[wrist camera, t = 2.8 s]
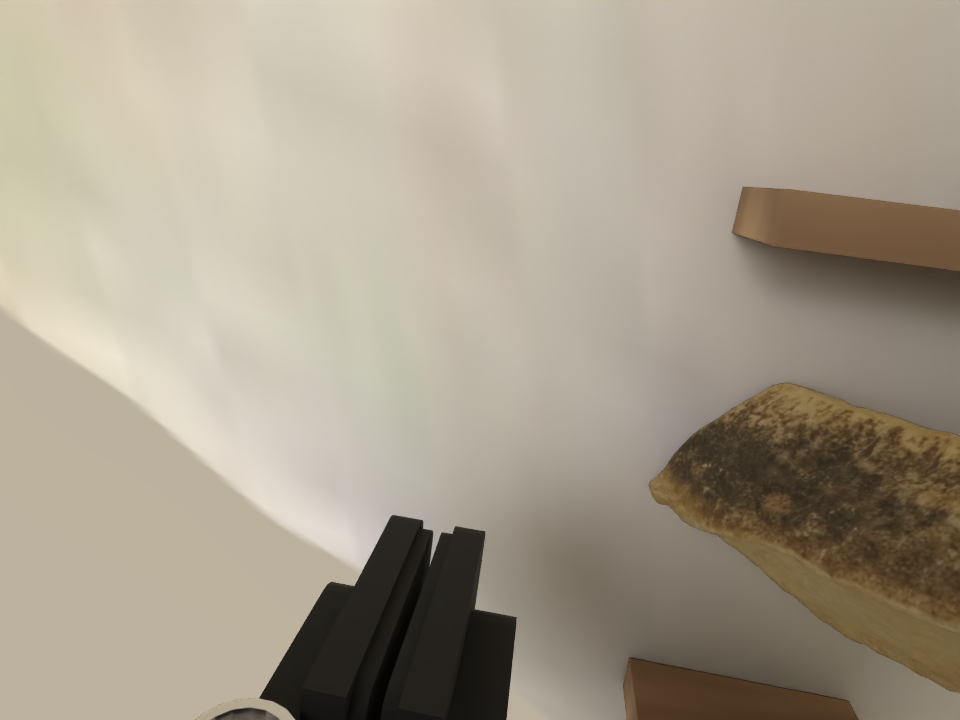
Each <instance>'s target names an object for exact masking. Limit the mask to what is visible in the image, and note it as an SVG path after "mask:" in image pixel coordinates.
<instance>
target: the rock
mask: <svg viewBox="0 0 960 720" xmlns="http://www.w3.org/2000/svg"><path fill="white" fill-rule="evenodd" d="M649 488H650V490H651V494H652V497H653V498H654V499H655V500H656V501H657V502H658V503H660V504H664V505H669V506H670V507H671V508H672V509H673V510H674V511H675V512H676V513H677V514H678V515H679V517H680V518H681V520H682V521H684V522H685V523H687V524H689V525H690V526H692V527H695V528H697V529H700V530H703V531H705V532H709V533H711V534H715V535H718V536H719V537H720V538H721V539H723V540H724V541H725V542H726V543H727V544H729V545H731V546H732V547H734V548H735V549H737V550H738V551H740V552H741V553H742V554H744V555H745V556H746V557H747V558H748V559H749V560H751V561H752V562H753V563H754V564H755V565H756V566H758V567H760V568H761V569H762V570H763V571H764V572H765V573H766V574H767V575H768V576H769V577H770V578H771V579H772V580H773V581H775V582H776V583H777V584H778V585H779V586H780V587H781V588H782V589H783V590H784V591H786V592H788V593H790V594H792V595H794V596H795V597H796V598H797V599H798V600H799V601H800V602H801V603H802V604H803V605H804V606H806V607H807V608H808V609H809V610H810V611H811V612H812V613H814V614H815V615H816V616H817V617H818V618H819V619H820V620H822V621H824V622H826V623H827V624H829V625H831V626H832V627H833V628H835V629H836V630H837V631H839V632H840V633H841V634H843V635H844V636H846V637H848V638H850V639H852V640H854V641H856V642H858V643H861V644H865V645H867V646H869V647H870V648H871V649H873V650H874V651H876V652H877V653H879V654H881V655H884V656H886V657H888V658H890V659H892V660H895V661H897V662H899V663H901V664H903V665H904V666H906V667H908V668H909V669H911V670H912V671H914V672H915V673H917V674H919V675H920V676H923V677H926V678H928V679H930V680H932V681H934V682H935V683H937V684H939V685H941V686H942V687H944V688H946V689H947V690H949V691H953V692H959V693H960V436H958V435H956V434H952V433H948V432H939V431H935V430H932V429H928V428H925V427H922V426H919V425H917V424H914V423H911V422H909V421H906V420H903V419H901V418H898V417H895V416H892V415H889V414H886V413H882V412H877V411H873V410H869V409H866V408H861V407H854V406H852V405H851V404H849V403H847V402H845V401H844V400H840V399H837V398H834V397H831V396H829V395H826V394H823V393H819V392H816V391H814V390H812V389H808V388H804V387H801V386H798V385H794V384H789V383H783V384H778V385H773V386H771V387H770V388H768V389H766V390H765V391H763V392H761V393H759V394H758V395H756V396H754V397H752V398H750V399H748V400H746V401H745V402H743V403H742V404H740V405H738V406H737V407H735V408H733V409H731V410H730V411H728V412H727V413H725V414H724V415H723V416H721V417H720V418H718V419H717V420H715V421H713V422H712V423H710V424H708V425H706V426H705V427H703V428H701V429H700V430H699V431H697V432H696V433H695V434H694V435H692V436H691V437H690V438H689V439H688V440H687V441H686V442H685V443H684V444H683V445H682V446H681V447H680V448H679V449H678V451H677V452H676V453H675V454H674V455H673V457H672V458H671V460H670V461H669V463H668V464H667V466H666V467H665V469H664V470H663V471H662V472H661V473H660V474H659V475H658V476H657V477H656V478H655V479H654V480H652V481H651V482H650V484H649Z"/></svg>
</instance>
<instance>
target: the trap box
mask: <svg viewBox="0 0 960 720" xmlns="http://www.w3.org/2000/svg"><path fill="white" fill-rule="evenodd" d="M732 233H735V234H738V235H741V236H744V237H747V238H750V239H754V240H757V241H760V242H763V243H766V244H769V245H772V246H775V247H782V248H790V249H797V250H805V251H812V252H820V253H827V254H835V255H842V256H850V257H857V258H865V259H872V260H880V261H887V262H895V263H902V264H910V265H917V266H925V267H932V268H940V269H947V270H955V271H960V211H959V210H951V209H943V208H935V207H927V206H919V205H911V204H903V203H895V202H887V201H879V200H871V199H863V198H855V197H847V196H839V195H831V194H823V193H815V192H807V191H799V190H791V189H773V188H753V187H743V189H742V193H741V197H740V201H739V206H738V210H737V214H736V218H735V222H734V226H733V231H732ZM623 690H624V699H625V708H626V716H627V720H859V719H858V717H857V716H856V714H855V712H854V710H853V708H852V706H851V704H850V703H849V701H845V700H840V699H835V698H830V697H825V696H820V695H815V694H810V693H805V692H799V691H794V690H789V689H784V688H779V687H774V686H769V685H764V684H759V683H754V682H749V681H744V680H738V679H733V678H728V677H723V676H718V675H713V674H708V673H703V672H698V671H693V670H688V669H683V668H678V667H672V666H667V665H662V664H657V663H652V662H647V661H642V660H637V659H632V658H630V659H629V663H628V667H627V671H626V676H625V680H624V684H623Z"/></svg>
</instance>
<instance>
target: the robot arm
mask: <svg viewBox="0 0 960 720" xmlns="http://www.w3.org/2000/svg"><path fill="white" fill-rule="evenodd" d="M432 540H433V531H432V530H426V529H423V520H418V519H412V518H407V517H401V516H396V515H392V516H391V518H390V519H389V521H388V523H387V525H386V527H385V529H384V531H383V533H382V535H381V537H380V538H379V540H378V542H377V544H376V546H375V548H374V550H373V552H372V554H371V556H370V558H369V560H368V561H367V563H366V565H365V567H364V569H363V571H362V573H361V575H360V577H359V579H358V581H357V582H356V584H355V586H350V585H345V584H339V583H334V582H331V583H329V584H328V585H327V586H326V587H325V589H324V590H323V592H322V594H321V595H320V597H319V599H318V600H317V602H316V604H315V605H314V607H313V609H312V610H311V612H310V614H309V615H308V617H307V619H306V620H305V622H304V624H303V626H302V627H301V629H300V631H299V632H298V634H297V635H296V637H295V639H294V641H293V642H292V644H291V646H290V647H289V649H288V651H287V652H286V654H285V656H284V657H283V659H282V661H281V662H280V664H279V666H278V667H277V669H276V671H275V672H274V674H273V676H272V678H271V679H270V681H269V683H268V684H267V686H266V688H265V689H264V691H263V693H262V694H261V696H260V698H259V699H258V698H248V699H237V700H233V701H230V702H226V703H223V704H219V705H218V706H216V707H214V708H212V709H210V710H208V711H207V712H205V713H203V714H201V715H200V716H199V717H198V718H197V719H196V720H506V718H507V708H508V698H509V689H510V679H511V669H512V659H513V650H514V640H515V630H516V617H512V616H506V615H501V614H496V613H491V612H486V611H480V610H475V603H476V596H477V589H478V582H479V575H480V568H481V561H482V554H483V547H484V540H485V531H479V530H473V529H468V528H462V527H457V526H455V528H454V531H453V534H448V533H443V532H442V533H441V536H440V538H439V541H438V544H437V547H436V550H435V553H434V556H433V558H432V561H431V564H430V557H431V549H432ZM429 566H430V567H429Z"/></svg>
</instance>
